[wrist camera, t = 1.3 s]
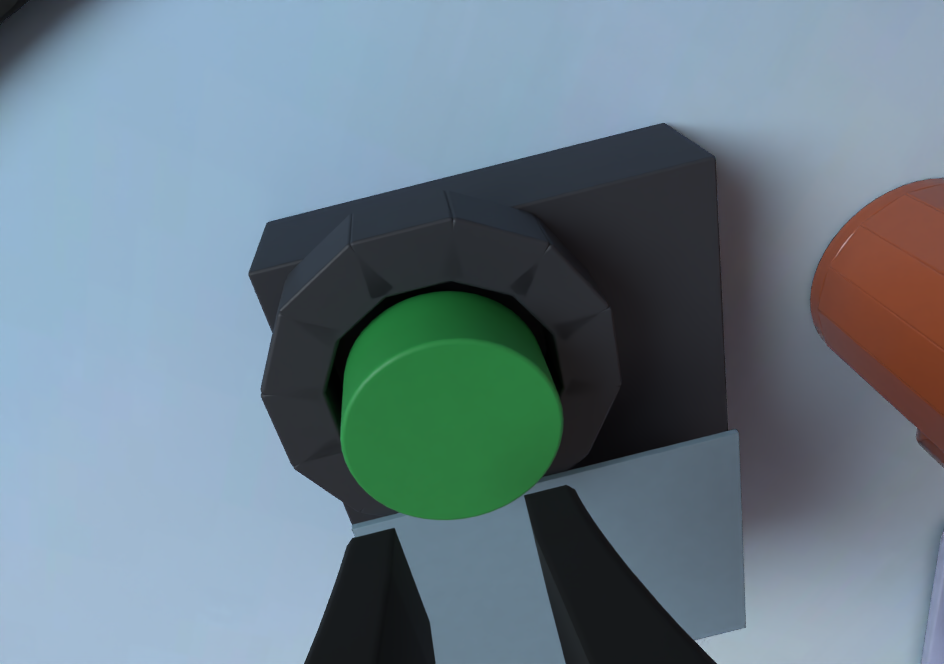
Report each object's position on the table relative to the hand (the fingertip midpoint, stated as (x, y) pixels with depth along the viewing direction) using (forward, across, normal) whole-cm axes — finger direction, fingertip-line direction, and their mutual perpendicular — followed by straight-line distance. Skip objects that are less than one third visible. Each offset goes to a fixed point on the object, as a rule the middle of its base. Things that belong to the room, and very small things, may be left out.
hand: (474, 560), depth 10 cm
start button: (+5, 0, 0) cm, 5 cm away
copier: (+9, -2, +4) cm, 10 cm away
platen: (+4, -2, +6) cm, 8 cm away
